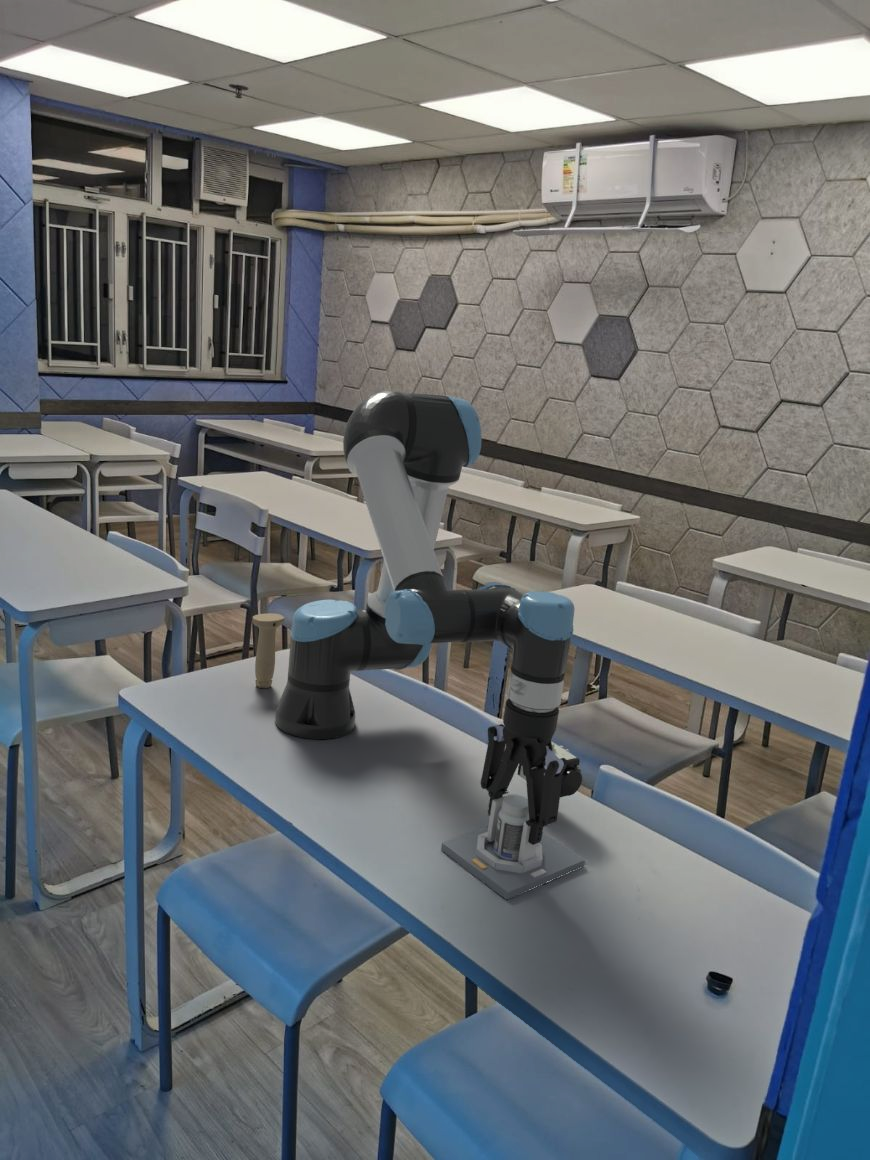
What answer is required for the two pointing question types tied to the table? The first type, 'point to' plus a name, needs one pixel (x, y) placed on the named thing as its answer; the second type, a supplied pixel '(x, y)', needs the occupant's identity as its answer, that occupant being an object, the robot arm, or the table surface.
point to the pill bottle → (511, 826)
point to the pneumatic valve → (565, 771)
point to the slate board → (511, 862)
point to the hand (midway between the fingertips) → (510, 848)
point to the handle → (266, 647)
